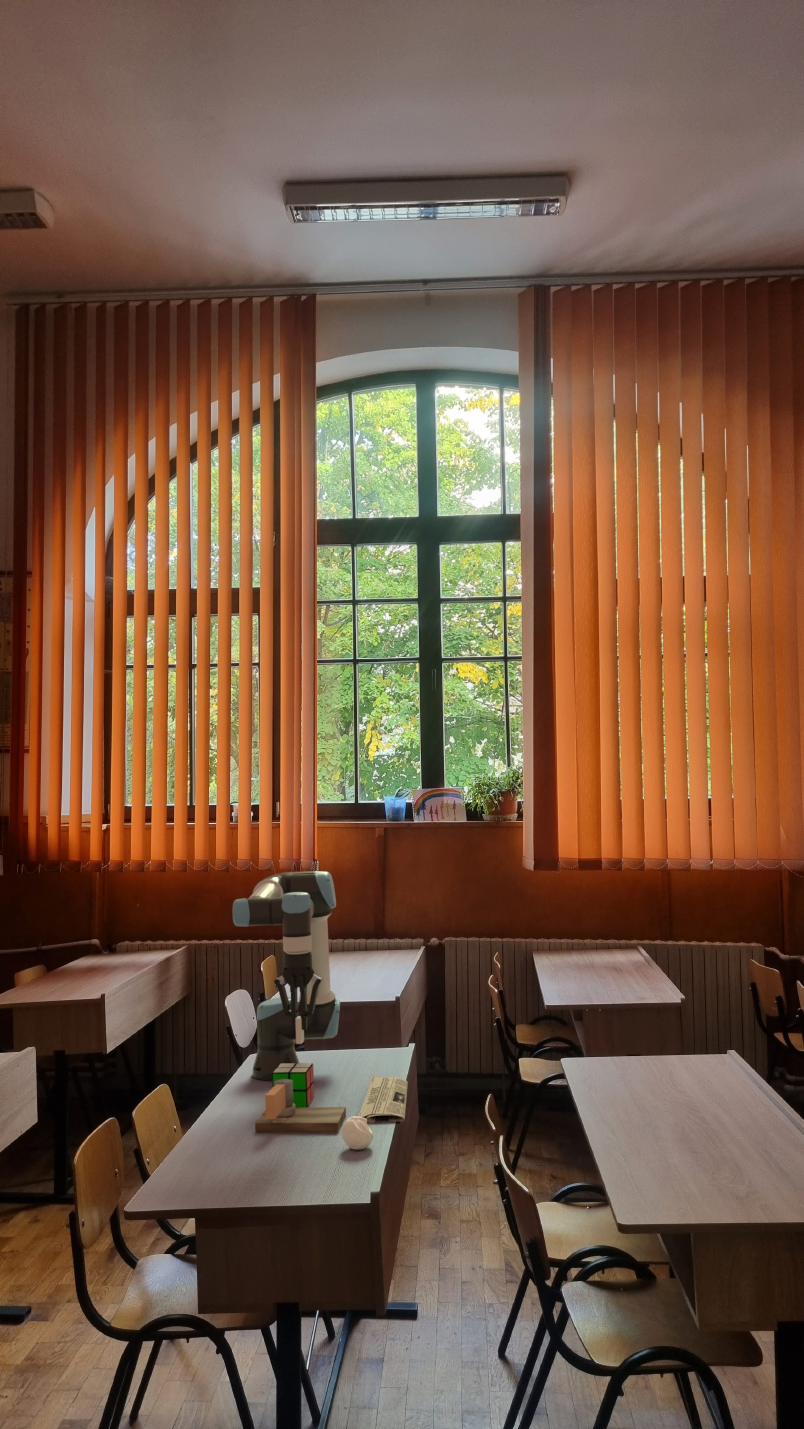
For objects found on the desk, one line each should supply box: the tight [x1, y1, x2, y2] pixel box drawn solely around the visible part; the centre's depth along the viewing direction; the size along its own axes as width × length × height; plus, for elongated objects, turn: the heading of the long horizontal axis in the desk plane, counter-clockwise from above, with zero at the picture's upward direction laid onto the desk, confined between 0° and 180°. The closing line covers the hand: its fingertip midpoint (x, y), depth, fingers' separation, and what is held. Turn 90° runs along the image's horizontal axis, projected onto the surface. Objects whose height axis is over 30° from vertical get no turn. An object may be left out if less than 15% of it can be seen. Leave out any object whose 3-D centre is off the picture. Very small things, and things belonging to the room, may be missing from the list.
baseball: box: [341, 1115, 374, 1151], centre depth 239 cm, size 8×8×8 cm
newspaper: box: [358, 1074, 409, 1124], centre depth 276 cm, size 35×12×4 cm, turn 178°
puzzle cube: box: [271, 1062, 315, 1107], centre depth 278 cm, size 10×10×10 cm
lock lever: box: [264, 1079, 293, 1119], centre depth 257 cm, size 5×14×6 cm, turn 170°
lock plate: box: [254, 1103, 347, 1134], centre depth 259 cm, size 13×22×4 cm, turn 84°
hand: (300, 1042), depth 255 cm, fingers closed
